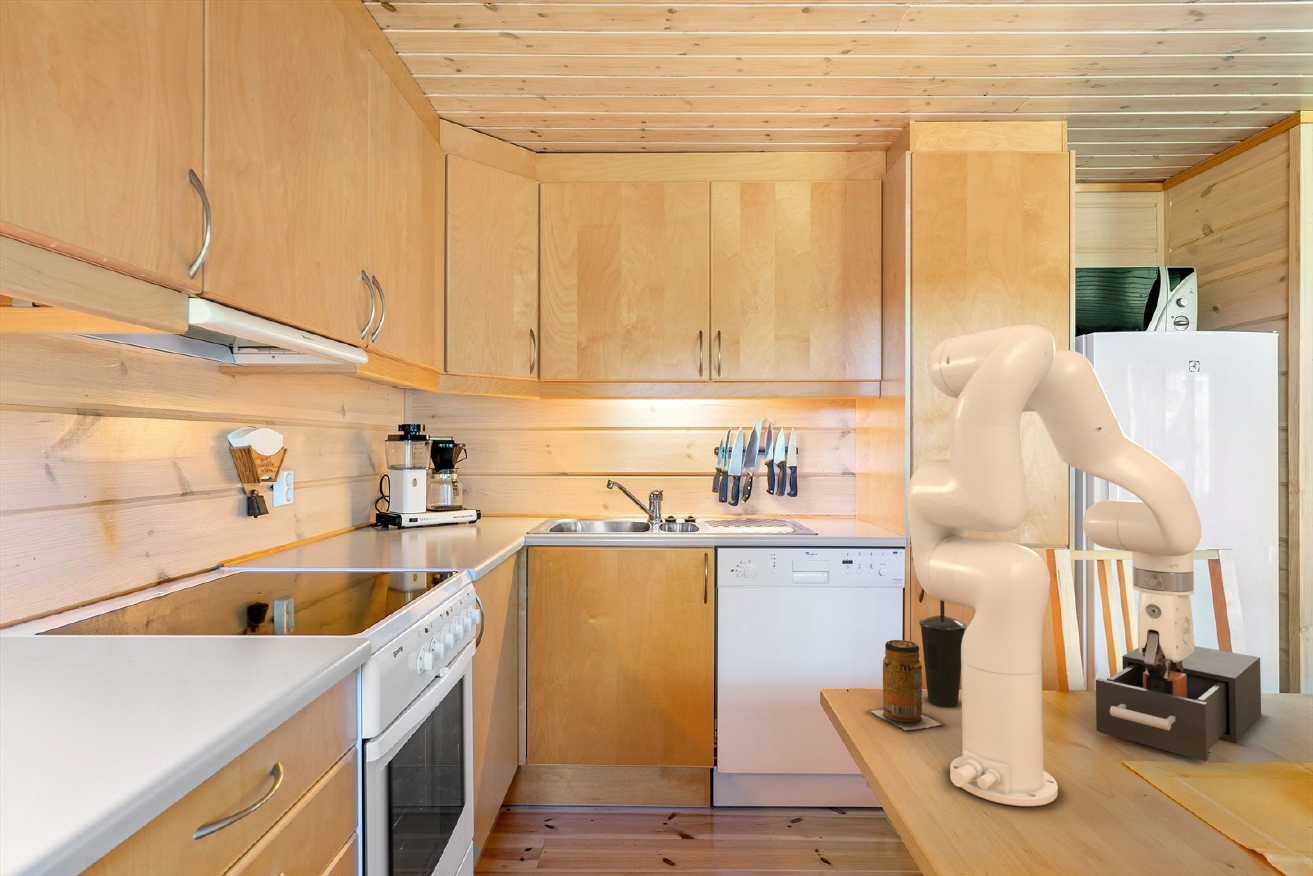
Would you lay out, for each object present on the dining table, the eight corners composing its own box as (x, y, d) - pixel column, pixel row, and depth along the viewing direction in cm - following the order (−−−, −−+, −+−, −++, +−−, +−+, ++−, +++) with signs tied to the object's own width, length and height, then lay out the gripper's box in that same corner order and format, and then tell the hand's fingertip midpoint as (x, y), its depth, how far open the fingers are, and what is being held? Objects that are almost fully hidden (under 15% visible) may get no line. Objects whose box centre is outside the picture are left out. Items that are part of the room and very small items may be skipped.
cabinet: (1236, 743, 102) (1235, 678, 102) (1123, 714, 114) (1122, 656, 114) (1261, 716, 113) (1260, 657, 113) (1155, 692, 124) (1154, 638, 124)
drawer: (1197, 771, 91) (1196, 712, 92) (1085, 738, 102) (1084, 685, 102) (1234, 732, 104) (1233, 680, 104) (1131, 707, 114) (1130, 660, 114)
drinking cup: (972, 711, 115) (971, 591, 115) (923, 708, 116) (922, 590, 117) (961, 696, 122) (960, 583, 123) (916, 693, 124) (915, 581, 124)
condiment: (905, 707, 117) (905, 636, 117) (942, 725, 109) (941, 649, 109) (870, 712, 114) (869, 640, 115) (904, 732, 106) (904, 654, 107)
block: (1178, 710, 101) (1177, 680, 101) (1143, 702, 105) (1142, 673, 105) (1187, 703, 104) (1186, 674, 104) (1152, 695, 107) (1152, 667, 108)
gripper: (1175, 592, 96) (1178, 723, 96) (1208, 577, 107) (1211, 695, 107) (1114, 584, 102) (1117, 707, 102) (1151, 571, 113) (1153, 683, 113)
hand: (1165, 700), depth 104 cm, fingers closed on block, 4 cm apart
